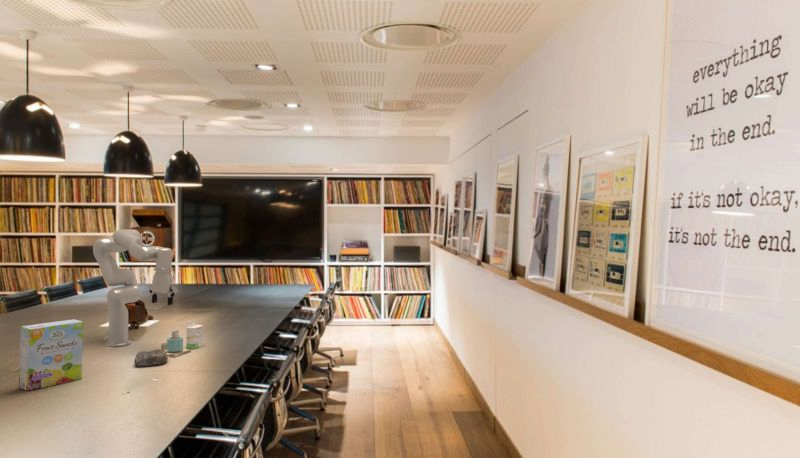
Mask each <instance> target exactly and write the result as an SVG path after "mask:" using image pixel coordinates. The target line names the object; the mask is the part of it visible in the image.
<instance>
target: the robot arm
mask: <svg viewBox="0 0 800 458" xmlns="http://www.w3.org/2000/svg"><path fill="white" fill-rule="evenodd" d="M111 236H112V237H103V238H98V239H97V240H96V241H95V242H94V243H93V246H92V251H93V252H92V254H93V256H94V258H95V260H96V261H97V264H98V265H99V268H100V272H101V275H102V278H103V280H104V284H105V285H106V286H108V287H113V288H111V289H109V290H108V291H107V294H106V300H107V305H108V335H106V336H104V337H103V340H104V341H106V342H105V346H106V347H109V348H110V347H112V348H114V347H124V346H128V345H130V344H132V340H130V339H129V310H128V308H127V306H126V304H131V303H136V302H138V301H139V300H140V299H141V289H140V287H139V284H138V280H137V278H136V275H135V273H134V272H133V270H132V269H130V268H128V267H127V268H126V267H125V268H119V266H118V263H117V260H116V259H115V258H114V257H113V255H111V254H110V253H113V254H114V253H124V252H126V251H128V252H129V255H130V256H131V257H132V258H134V259H136V260H138V261H141V262H150V261H152V262H153V261H154V262H155V268H154V270H153V271H155V273H154V274H153V276H152V282H151V284H150V285H149V286H147V288H148V290H149V293H150V296H151V304H156V303H157V302H158V294H161V295H164V294H166V295H167V296H168V297H167V306H172V305H173V303H174V297H175V296H176V294H177V292H178V288H177V287H175V286H174V280H173V279H174V278H173V273H172V266H173V265H172V263H173V262H172V261H173V260H172V258H173V250H172V249H171V248H170V247H163V246H158V245H156V246H153V245H151V246H143V239H142V235H141V233H140V231H138V230H137V229H130V228H128V229H127V228H126V229H123V228H122V229H118V230H115V231H114V232H113V233H112V235H111Z"/></svg>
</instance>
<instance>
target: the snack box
mask: <svg viewBox="0 0 800 458" xmlns="http://www.w3.org/2000/svg"><path fill="white" fill-rule="evenodd" d="M19 335H20V339H19V340H20V342H19V370H18V376H19V377H18V388H20V389H22V390H25V392H29V391H30V390H31V391H35V390H39V388H40V389H44V388H47V386H48V387H52V385H53V386H57V385H61V384H60V383H62V384H65V383H64V382H66V383H69V382H68V381H71V382H74V381H73V380H75V381H79V380H82V378H83V347H84V346H83V344H84V343H83V341H84V321H82V320H79V319H78V320H77V319H75V318H74V319H67V320H61V321H60V320H59V321H52V322H43V323H36V324H29V325H22V326H20V334H19ZM78 379H79V380H78ZM56 384H57V385H56ZM43 387H44V388H43ZM34 389H35V390H34ZM31 391H30V392H31Z"/></svg>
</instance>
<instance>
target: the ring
mask: <svg viewBox="0 0 800 458" xmlns="http://www.w3.org/2000/svg"><path fill="white" fill-rule="evenodd" d="M166 343H167V351H170V352H175V351H181V350H183V349H184V338H183V337H182V336H179V339H174V340H173V339H172V336H171V337H167V338H166Z"/></svg>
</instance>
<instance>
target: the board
mask: <svg viewBox="0 0 800 458" xmlns="http://www.w3.org/2000/svg"><path fill="white" fill-rule="evenodd" d="M179 331H180V330H178V329H175V330H172V331H171V337H172V339H173V340H174V339H179V337H180V336H179V335H180V334H179ZM160 347H161V348H160V349H164V351H165V353H166V354H167V356H168V358H179V357H181V356H184V355H186V354H188V353H191V351H192V349H186V348H183V350H181V351H175V352H170V351H167V342H164V343H161V345H160Z"/></svg>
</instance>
